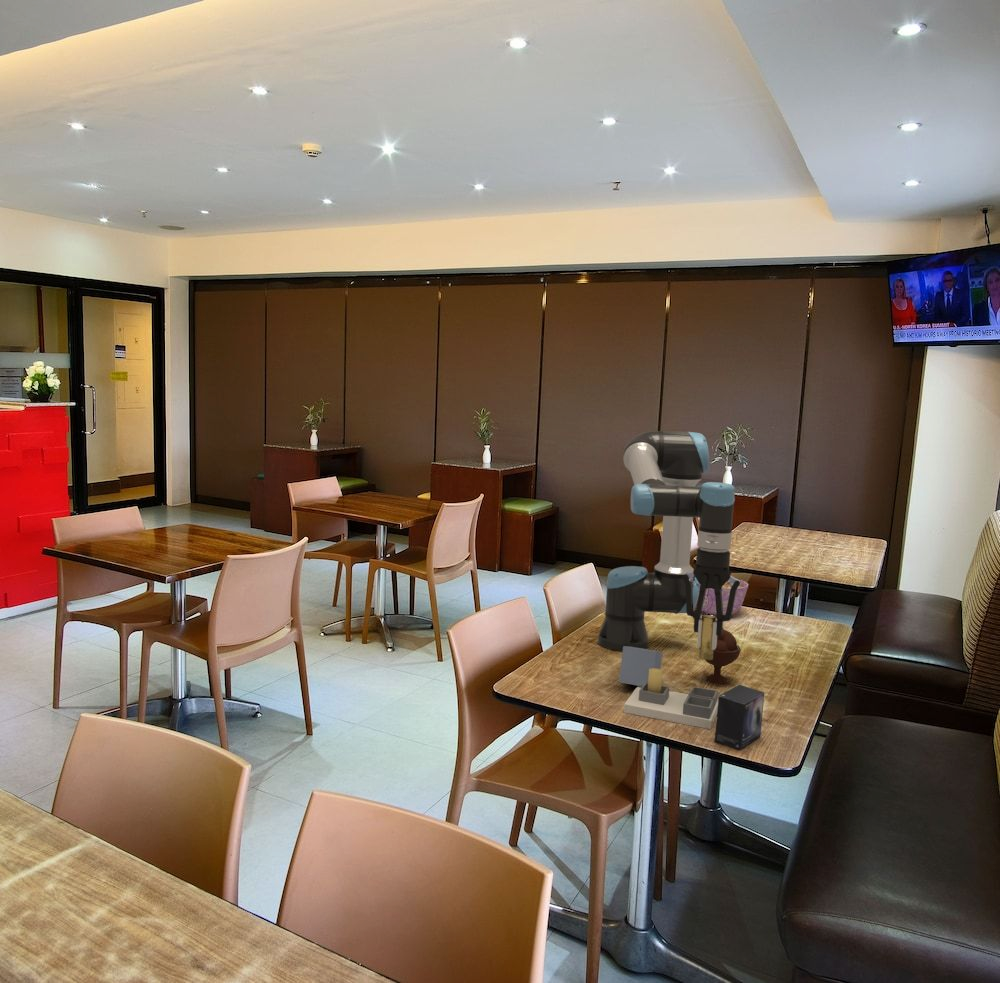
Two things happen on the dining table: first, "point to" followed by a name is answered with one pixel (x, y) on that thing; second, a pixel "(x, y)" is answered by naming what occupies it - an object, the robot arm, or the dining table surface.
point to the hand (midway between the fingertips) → (706, 646)
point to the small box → (739, 716)
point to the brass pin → (706, 637)
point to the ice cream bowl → (723, 656)
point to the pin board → (673, 703)
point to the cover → (638, 665)
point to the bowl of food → (724, 598)
